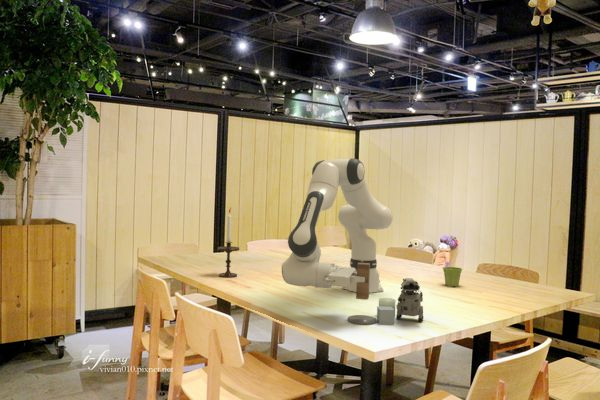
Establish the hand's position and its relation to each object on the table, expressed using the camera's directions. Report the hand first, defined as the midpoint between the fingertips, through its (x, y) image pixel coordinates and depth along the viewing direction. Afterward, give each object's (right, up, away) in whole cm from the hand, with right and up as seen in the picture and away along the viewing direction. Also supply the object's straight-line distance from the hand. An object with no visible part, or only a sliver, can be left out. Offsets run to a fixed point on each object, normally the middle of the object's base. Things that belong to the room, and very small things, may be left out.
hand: (365, 278), depth 176 cm
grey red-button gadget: (+16, -16, +2) cm, 22 cm away
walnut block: (-1, -7, 0) cm, 7 cm away
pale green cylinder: (+9, -15, +9) cm, 20 cm away
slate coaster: (-1, -15, +1) cm, 15 cm away
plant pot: (+51, -15, +71) cm, 89 cm away
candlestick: (-59, -12, +80) cm, 100 cm away
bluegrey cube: (+7, -15, 0) cm, 17 cm away
